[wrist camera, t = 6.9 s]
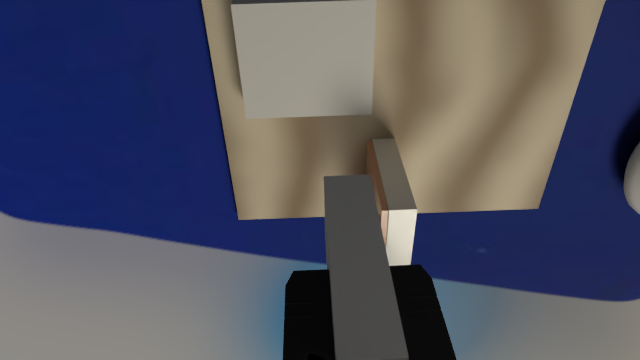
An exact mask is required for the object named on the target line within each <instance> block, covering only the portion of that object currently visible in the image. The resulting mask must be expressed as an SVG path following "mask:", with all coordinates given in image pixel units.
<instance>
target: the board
mask: <svg viewBox="0 0 640 360" xmlns="http://www.w3.org/2000/svg"><path fill="white" fill-rule="evenodd" d="M201 1H202V7H203V13H204V18H205V24H206V30H207V36H208V42H209V48H210V54H211V60H212V65H213V71H214V77H215V83H216V89H217V95H218V101H219V107H220V113H221V118H222V124H223V130H224V136H225V142H226V148H227V154H228V160H229V165H230V171H231V177H232V183H233V189H234V195H235V201H236V207H237V212H238V218H239V220H246V219H273V218H300V217H325V207H324V176H342V175H365V173H366V147H367V141H372V139H389V138H395V141H396V144H397V147H398V150H399V153H400V157H401V160H402V163H403V166H404V169H405V172H406V175H407V178H408V182H409V185H410V188H411V191H412V194H413V197H414V200H415V204H416V207H417V213H434V212H461V211H487V210H514V209H538V207H539V204H540V201H541V198H542V195H543V192H544V188H545V185H546V182H547V179H548V176H549V173H550V170H551V167H552V164H553V161H554V158H555V154H556V151H557V148H558V145H559V142H560V139H561V136H562V133H563V130H564V127H565V123H566V120H567V117H568V114H569V111H570V108H571V105H572V102H573V99H574V96H575V93H576V89H577V86H578V83H579V80H580V77H581V74H582V71H583V68H584V65H585V62H586V58H587V55H588V52H589V49H590V46H591V43H592V40H593V37H594V34H595V31H596V28H597V24H598V21H599V18H600V15H601V12H602V9H603V6H604V3H605V0H377V4H376V27H375V50H374V73H373V96H372V114H368V115H340V116H312V117H285V118H257V119H246V115H245V107H244V100H243V93H242V85H241V78H240V70H239V63H238V56H237V48H236V41H235V33H234V26H233V19H232V11H231V3H232V1H233V0H201Z"/></svg>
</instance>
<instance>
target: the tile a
mask: <svg viewBox="0 0 640 360" xmlns="http://www.w3.org/2000/svg"><path fill="white" fill-rule="evenodd" d="M376 4H377V0H233V1H232V3H231V11H232V19H233V26H234V33H235V41H236V48H237V56H238V63H239V70H240V78H241V85H242V93H243V100H244V107H245V115H246V119H257V118H285V117H312V116H340V115H368V114H372V96H373V73H374V50H375V27H376Z"/></svg>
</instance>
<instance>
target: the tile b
mask: <svg viewBox="0 0 640 360" xmlns="http://www.w3.org/2000/svg"><path fill="white" fill-rule="evenodd" d="M367 174H370V177H371V182H372V186H373V191H374V196H375V201H376V205H377V210H378V215H379V219H380V224H381V229H382V234H383V238H384V243H385V248H386V253H387V257H388V262H389V266H397V265H410V263H411V255H412V247H413V239H414V232H415V224H416V216H417V207H416V204H415V200H414V197H413V194H412V191H411V188H410V185H409V182H408V178H407V175H406V172H405V169H404V166H403V163H402V160H401V157H400V153H399V150H398V147H397V144H396V141H395V138H389V139H372V141H367V147H366V173H365V175H367Z"/></svg>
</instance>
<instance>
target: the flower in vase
mask: <svg viewBox="0 0 640 360" xmlns="http://www.w3.org/2000/svg"><path fill="white" fill-rule="evenodd" d="M624 193H625V197H626V199H627V201H628V203H629V205H630V206H631V207H632V208H633V209H634V210H635V211H636V212H637V213H639V214H640V142H639V143H638V145H637V146H636V147H635V149H634V151H633V152H632V154H631V156H630V158H629V160H628V163H627V166H626V170H625V176H624Z"/></svg>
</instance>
